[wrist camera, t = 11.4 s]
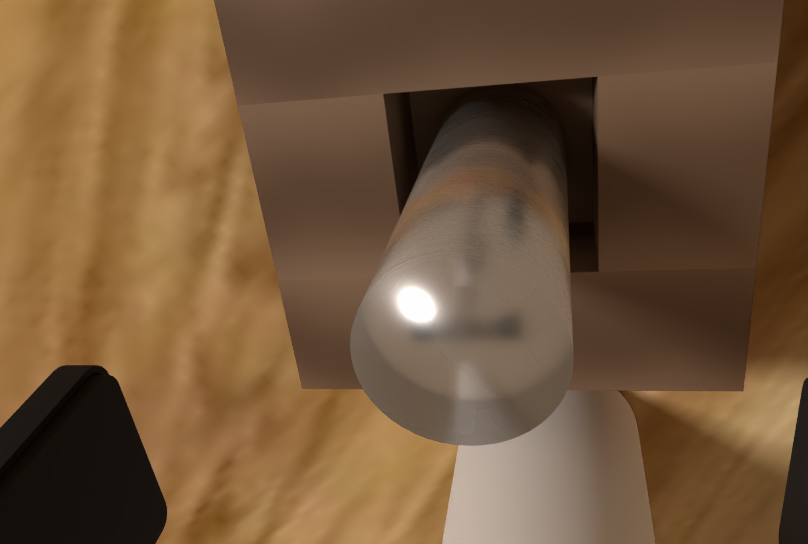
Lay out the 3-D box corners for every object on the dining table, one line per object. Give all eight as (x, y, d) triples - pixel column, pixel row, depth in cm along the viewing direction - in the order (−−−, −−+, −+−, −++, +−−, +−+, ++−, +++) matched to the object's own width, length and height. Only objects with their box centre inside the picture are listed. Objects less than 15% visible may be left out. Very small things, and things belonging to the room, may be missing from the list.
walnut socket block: (266, -70, 23) (201, -57, 19) (745, -134, 20) (798, -135, 16) (338, 313, 30) (302, 388, 25) (712, 306, 27) (743, 391, 22)
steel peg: (433, 86, 23) (333, 262, 13) (564, 76, 22) (571, 255, 12) (445, 204, 25) (366, 443, 15) (566, 199, 24) (574, 448, 14)
